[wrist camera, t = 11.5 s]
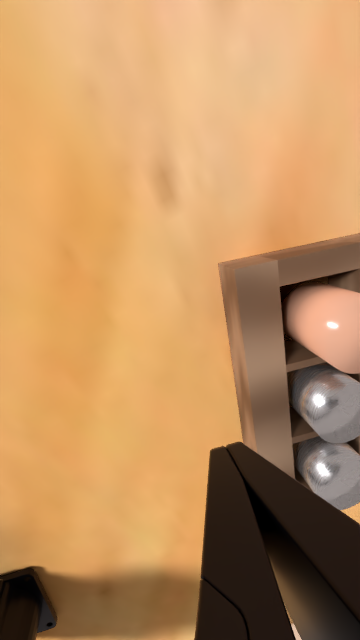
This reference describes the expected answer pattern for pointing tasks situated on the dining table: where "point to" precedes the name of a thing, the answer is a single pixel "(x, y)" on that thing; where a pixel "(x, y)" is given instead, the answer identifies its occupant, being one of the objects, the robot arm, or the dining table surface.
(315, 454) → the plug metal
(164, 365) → the dining table surface
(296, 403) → the plug metal mid
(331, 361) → the peach egg-shaped piece
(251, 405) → the brown wooden tray
